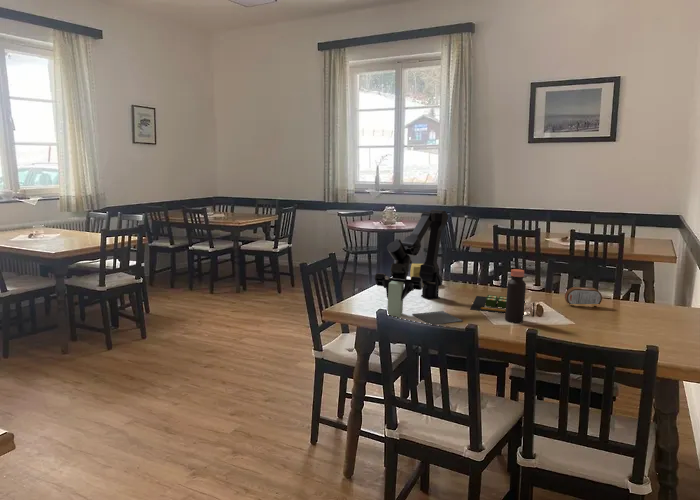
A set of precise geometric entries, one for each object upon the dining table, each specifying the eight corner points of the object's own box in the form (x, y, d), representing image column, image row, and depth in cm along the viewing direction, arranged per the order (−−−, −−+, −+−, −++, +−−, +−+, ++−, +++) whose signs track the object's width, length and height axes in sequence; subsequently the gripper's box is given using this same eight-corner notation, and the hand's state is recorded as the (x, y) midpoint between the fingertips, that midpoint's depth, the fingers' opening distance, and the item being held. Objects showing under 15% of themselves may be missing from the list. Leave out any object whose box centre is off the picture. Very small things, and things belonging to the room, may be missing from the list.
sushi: (469, 311, 222) (470, 302, 222) (476, 297, 246) (477, 289, 245) (533, 318, 214) (533, 309, 214) (533, 303, 238) (534, 295, 237)
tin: (599, 306, 233) (601, 287, 232) (602, 308, 230) (603, 289, 229) (563, 304, 234) (565, 286, 233) (565, 306, 231) (567, 287, 230)
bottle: (524, 323, 204) (528, 272, 201) (505, 322, 205) (509, 271, 202) (522, 319, 210) (525, 269, 207) (504, 317, 212) (507, 268, 209)
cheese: (433, 287, 263) (434, 267, 261) (411, 286, 263) (412, 266, 261) (430, 282, 273) (431, 263, 271) (409, 281, 273) (410, 262, 271)
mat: (442, 311, 218) (442, 310, 218) (462, 321, 205) (462, 320, 205) (412, 314, 212) (412, 313, 212) (431, 324, 200) (431, 323, 200)
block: (390, 312, 215) (391, 280, 213) (402, 313, 213) (404, 282, 211) (387, 315, 210) (388, 283, 208) (399, 317, 209) (401, 284, 207)
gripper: (376, 253, 215) (368, 285, 206) (422, 257, 209) (415, 290, 200) (380, 269, 223) (372, 301, 215) (425, 273, 218) (418, 305, 209)
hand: (394, 299), depth 209 cm, fingers closed on block, 5 cm apart
